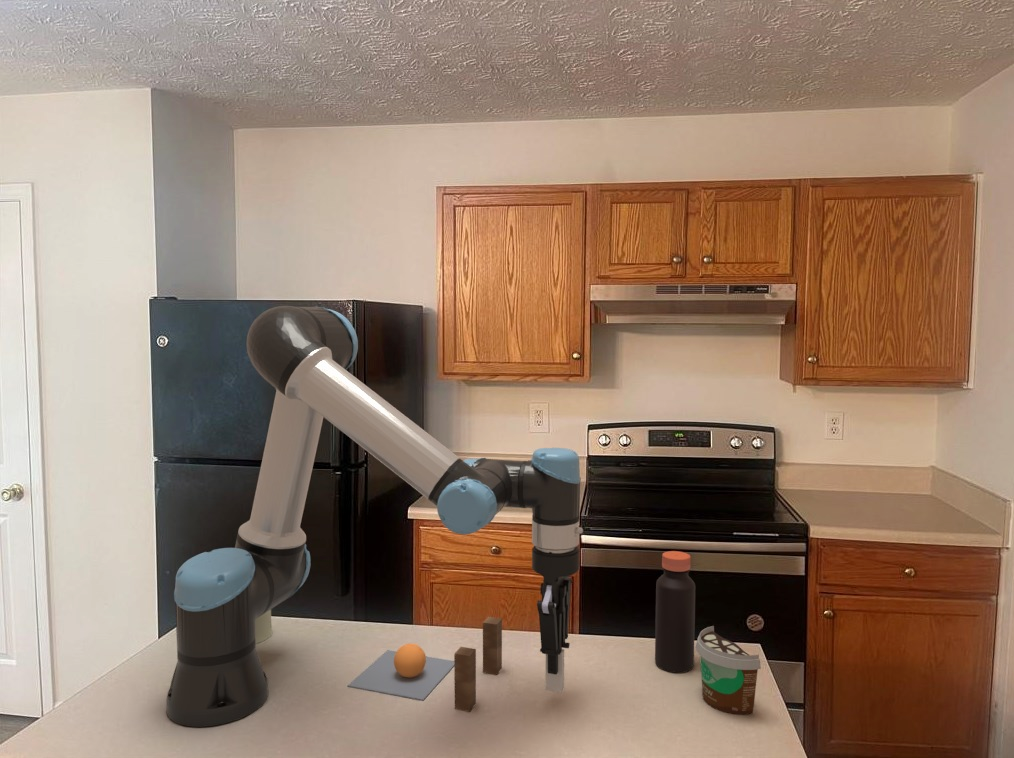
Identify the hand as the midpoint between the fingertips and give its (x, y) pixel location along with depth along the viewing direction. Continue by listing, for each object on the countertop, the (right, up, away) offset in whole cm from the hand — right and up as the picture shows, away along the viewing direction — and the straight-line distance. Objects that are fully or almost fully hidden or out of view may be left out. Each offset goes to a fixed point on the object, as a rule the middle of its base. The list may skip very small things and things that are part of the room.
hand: (554, 689), depth 116 cm
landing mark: (-26, -1, +9) cm, 27 cm away
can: (-58, 0, +24) cm, 63 cm away
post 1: (-14, -2, -2) cm, 15 cm away
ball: (-24, +1, +8) cm, 26 cm away
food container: (+26, -2, 0) cm, 26 cm away
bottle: (+22, -1, +13) cm, 26 cm away
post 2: (-10, -1, +10) cm, 15 cm away
